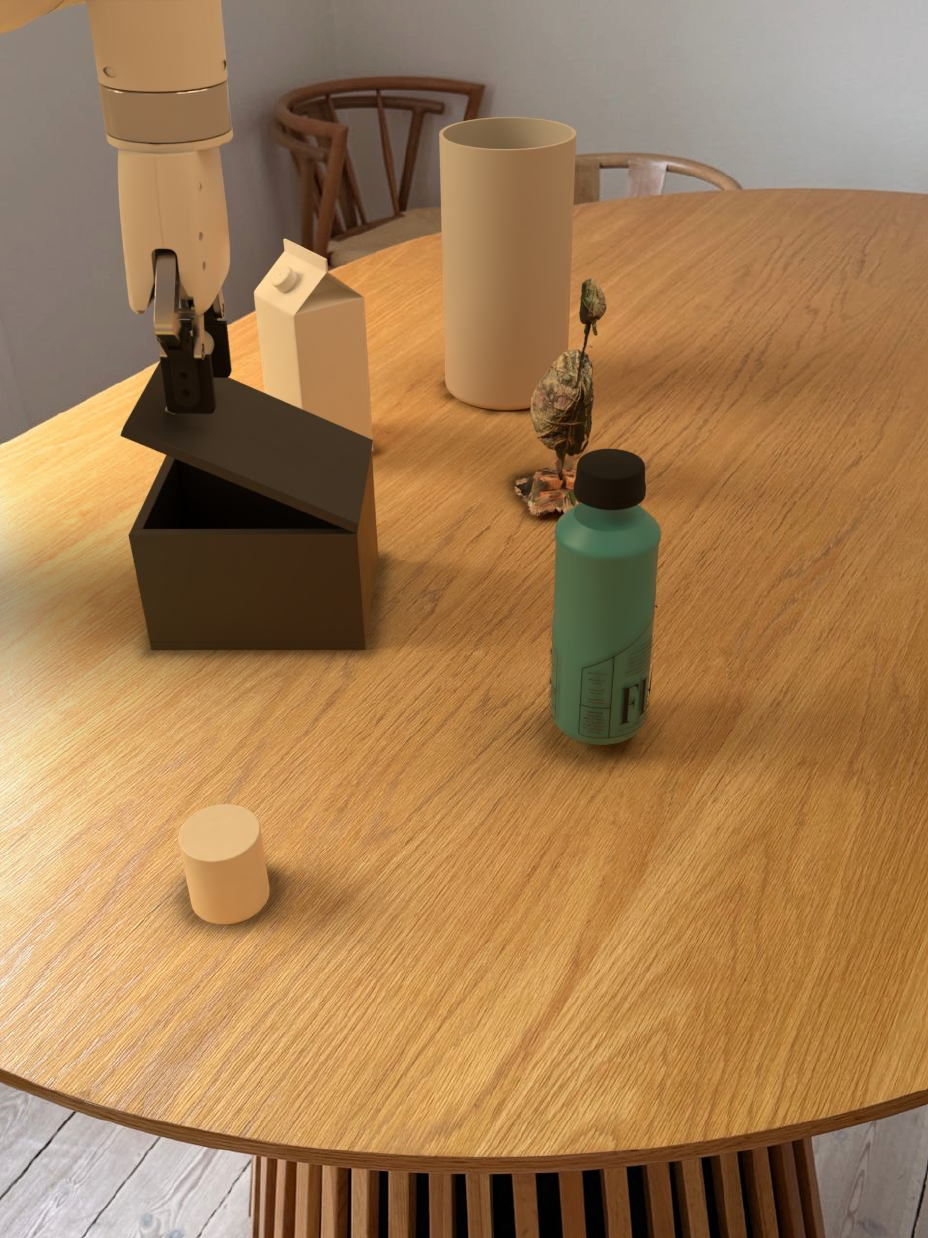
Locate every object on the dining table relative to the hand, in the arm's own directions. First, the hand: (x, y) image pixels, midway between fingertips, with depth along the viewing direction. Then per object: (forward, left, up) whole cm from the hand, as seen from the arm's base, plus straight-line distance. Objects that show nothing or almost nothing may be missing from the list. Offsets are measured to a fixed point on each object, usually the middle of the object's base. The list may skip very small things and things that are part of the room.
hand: (200, 390), depth 83 cm
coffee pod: (+23, -19, -18) cm, 35 cm away
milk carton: (-14, +22, -18) cm, 31 cm away
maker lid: (+2, +2, -4) cm, 5 cm away
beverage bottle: (+30, +6, -18) cm, 36 cm away
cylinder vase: (-10, +44, -18) cm, 48 cm away
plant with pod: (+8, +30, -18) cm, 36 cm away
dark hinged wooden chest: (+2, +2, -18) cm, 18 cm away
